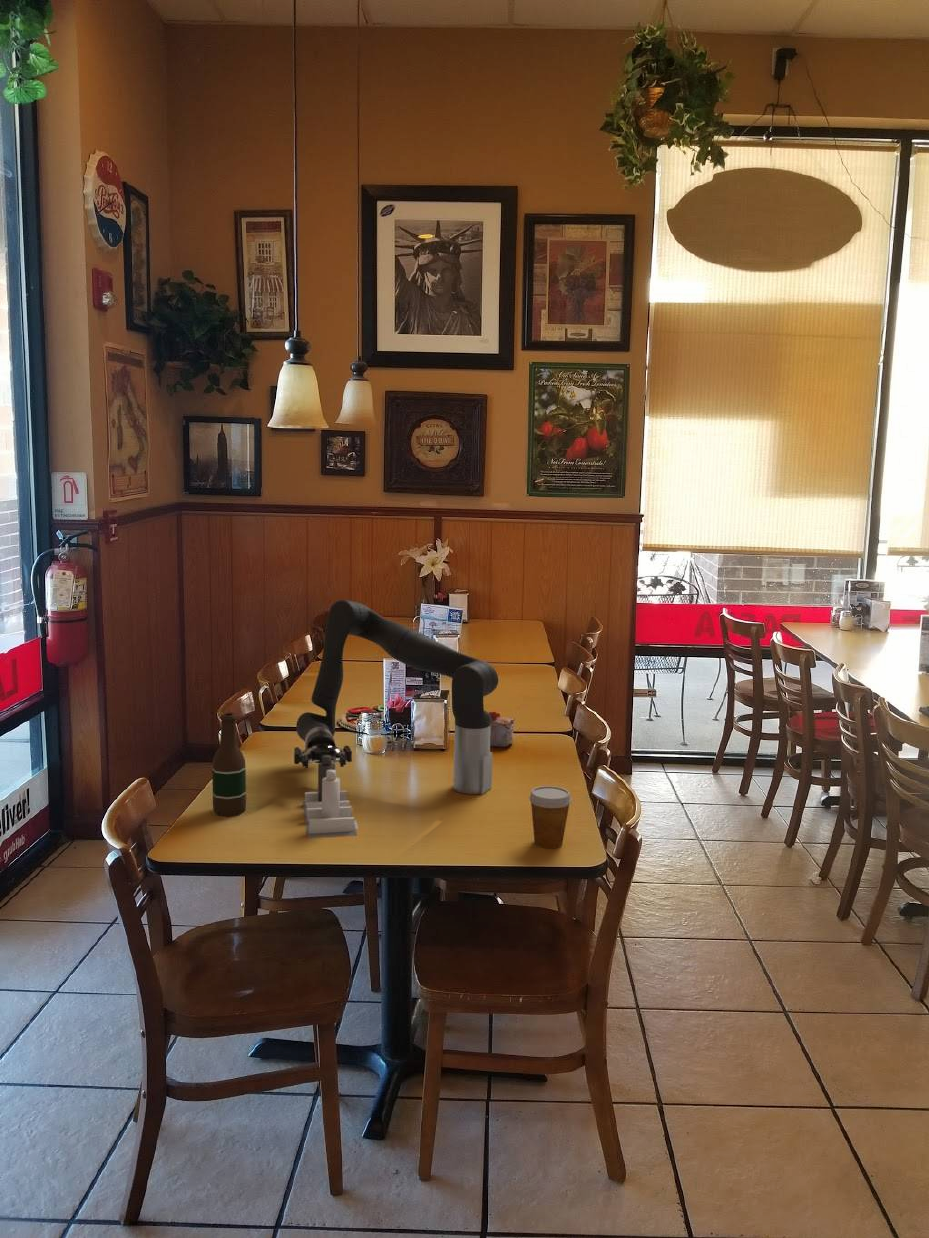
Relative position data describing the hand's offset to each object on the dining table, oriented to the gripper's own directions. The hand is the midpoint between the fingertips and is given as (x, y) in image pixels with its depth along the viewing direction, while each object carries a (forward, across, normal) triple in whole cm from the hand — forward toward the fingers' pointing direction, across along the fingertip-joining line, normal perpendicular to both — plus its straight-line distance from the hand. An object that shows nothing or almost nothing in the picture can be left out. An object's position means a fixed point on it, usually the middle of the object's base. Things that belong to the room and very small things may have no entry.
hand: (324, 763), depth 249 cm
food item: (-46, +53, +11) cm, 71 cm away
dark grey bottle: (+7, 0, +9) cm, 11 cm away
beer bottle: (+1, -23, +11) cm, 25 cm away
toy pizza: (-73, +23, +11) cm, 77 cm away
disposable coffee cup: (+32, +48, +11) cm, 58 cm away
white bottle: (+18, 0, +9) cm, 20 cm away
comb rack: (+12, 0, +10) cm, 16 cm away
